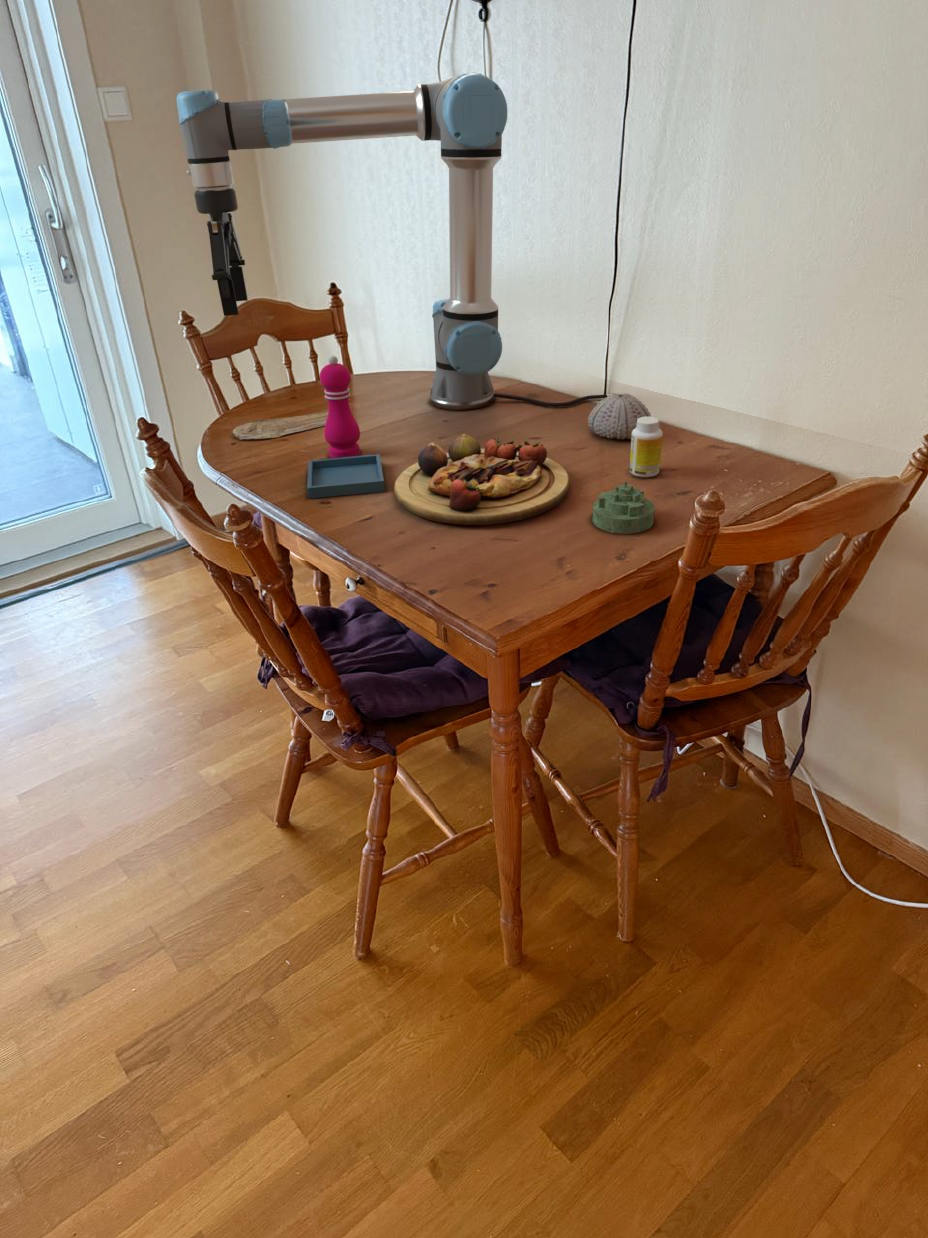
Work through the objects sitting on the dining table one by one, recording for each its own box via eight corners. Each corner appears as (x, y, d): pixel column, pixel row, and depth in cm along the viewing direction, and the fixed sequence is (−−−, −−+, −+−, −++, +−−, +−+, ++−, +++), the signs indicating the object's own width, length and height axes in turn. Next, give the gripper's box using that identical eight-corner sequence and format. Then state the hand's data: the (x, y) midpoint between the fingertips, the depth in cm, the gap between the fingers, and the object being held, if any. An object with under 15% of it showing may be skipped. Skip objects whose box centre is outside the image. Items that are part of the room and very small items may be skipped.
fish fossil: (332, 408, 197) (332, 403, 196) (352, 422, 190) (352, 417, 190) (227, 430, 185) (227, 425, 185) (244, 446, 178) (244, 441, 178)
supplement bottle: (665, 474, 155) (670, 421, 150) (640, 480, 153) (645, 426, 148) (647, 465, 159) (651, 412, 154) (623, 471, 157) (626, 418, 152)
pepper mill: (368, 450, 172) (358, 352, 162) (350, 462, 167) (338, 362, 156) (339, 446, 175) (327, 349, 165) (320, 458, 170) (306, 359, 159)
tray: (380, 463, 166) (379, 453, 165) (385, 491, 154) (383, 480, 153) (309, 470, 165) (308, 460, 163) (308, 498, 153) (307, 487, 152)
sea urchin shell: (598, 419, 183) (599, 383, 178) (659, 426, 177) (662, 388, 173) (578, 439, 172) (579, 401, 168) (643, 447, 167) (646, 408, 163)
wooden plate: (522, 543, 134) (521, 495, 129) (359, 509, 148) (354, 465, 143) (596, 473, 157) (598, 430, 153) (450, 449, 171) (448, 409, 167)
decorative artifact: (599, 505, 145) (586, 530, 137) (601, 467, 141) (588, 490, 133) (658, 511, 142) (647, 537, 134) (661, 472, 138) (651, 496, 130)
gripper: (205, 184, 166) (226, 296, 177) (180, 196, 144) (206, 322, 156) (243, 181, 166) (262, 293, 177) (224, 193, 145) (247, 319, 156)
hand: (236, 307), depth 167 cm, fingers open, 13 cm apart
